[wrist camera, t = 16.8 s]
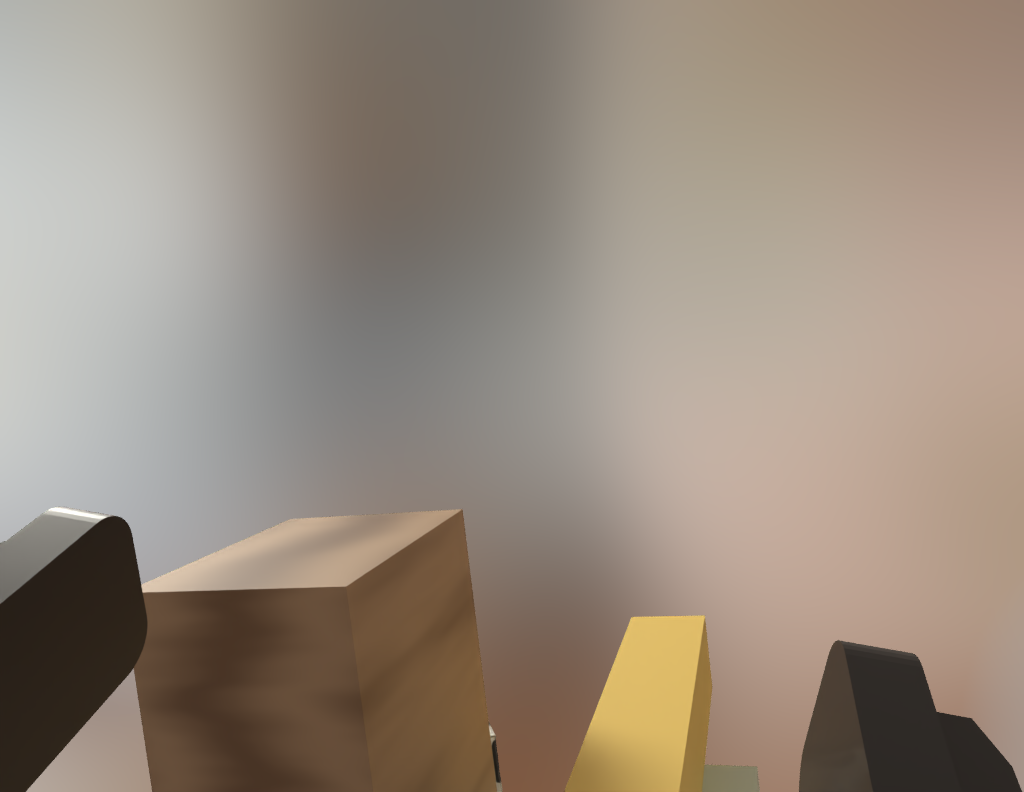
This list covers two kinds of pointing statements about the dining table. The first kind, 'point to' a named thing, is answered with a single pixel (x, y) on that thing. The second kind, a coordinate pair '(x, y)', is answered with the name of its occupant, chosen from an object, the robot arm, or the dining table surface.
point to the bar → (651, 712)
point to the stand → (319, 662)
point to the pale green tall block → (730, 779)
